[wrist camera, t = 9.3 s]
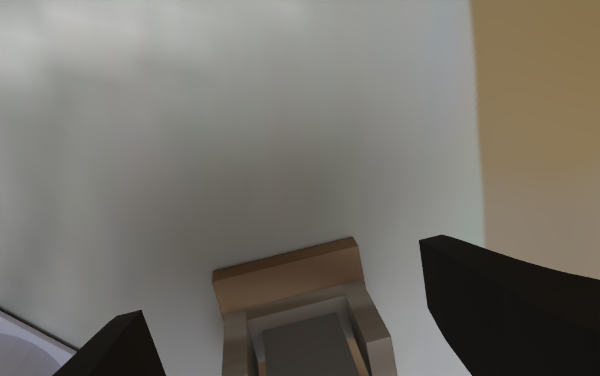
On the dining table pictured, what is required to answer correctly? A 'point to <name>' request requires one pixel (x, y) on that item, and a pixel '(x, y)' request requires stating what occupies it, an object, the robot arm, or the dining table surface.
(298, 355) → the grey rectangular block
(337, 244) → the cradle
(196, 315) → the dining table surface
